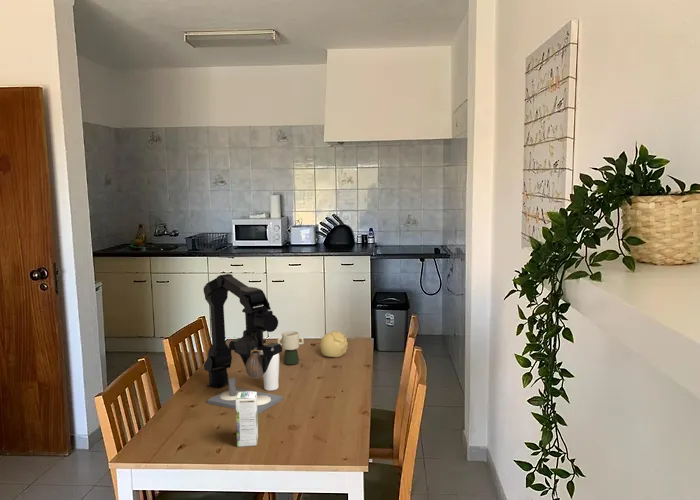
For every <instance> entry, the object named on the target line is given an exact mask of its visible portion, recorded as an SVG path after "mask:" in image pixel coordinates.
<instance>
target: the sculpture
mask: <svg viewBox="0 0 700 500" xmlns="http://www.w3.org/2000/svg"><path fill="white" fill-rule="evenodd" d="M319 344H320V345H319V346H320V348H319V349H320V352H321V353H322V355H323V356H325V357H328V358H340V357H341V358H342V356H344V355H345V354H346V352H347V350H348V345H349V344H348V339H347V337H346V335H345V334H344V333H342V332H341V331H334V330H332V331H330V332H327V333H326V334H324V335H323V336H322V337H321V340H320V343H319Z"/></svg>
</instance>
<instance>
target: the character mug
mask: <svg viewBox="0 0 700 500" xmlns="http://www.w3.org/2000/svg"><path fill="white" fill-rule="evenodd" d="M276 339H277V343H278V344H280V345H281V346H282V350H284V356H283V362H284V364H286V365H294V364H298V363H299V362H300V357H299V354H298V349H299V347H300V346H302V345H304V343H305V340H304V339H305V338H304V336H300V333H299V332H298V331H296V330H295V331H294V330H289V331H284V332H282V333H281V337H278V338H276ZM300 340H301V342H300Z"/></svg>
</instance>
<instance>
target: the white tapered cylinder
mask: <svg viewBox="0 0 700 500" xmlns="http://www.w3.org/2000/svg"><path fill="white" fill-rule="evenodd" d="M262 354H263V351H262V350H260V355H262ZM279 375H280V353H278V354H276V355H274V356H273V357H272V359H271V361H270V364H269V366H268V368H267V371H266V372H265V374H264V375H263V376H262V379H263V388H264V390H266V391H268V392H269V391H273V392H274V391H277V390H278V389H279V381H280V380H279Z"/></svg>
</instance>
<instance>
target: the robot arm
mask: <svg viewBox="0 0 700 500" xmlns="http://www.w3.org/2000/svg"><path fill="white" fill-rule="evenodd" d="M229 292H230V293H232V294H233V295H234V296H236V297H238V299H239V303H240V304H241V306H243V307H244V308H243V309H242V310H241V311H242V313H245V314H244V316H245V317H244V318H245V330H243V332H242V336H241V337H237V338H235V339H233V340H230V341H229V344H228V345H227V343H226V342H227V341H226V329H225V328H226V327H225V307H224V305H225V303H226V301H227V300H228V293H229ZM203 294H204V299H205V300H206V303H208V305H209V310H210V311H209V312H210V313H209V314H210V327H211V328H210V329H211V345H210V347H209V349H208V351H207V352H208V353H207V359H206V360H205V362H204V363H203V367H204V371H206V372H208V382H209V383H207V384H206V386H207V387H210V388H217V389H221V388H223V387H225V386H228V385H229V374H228V369H230V368H231V365H232V359H233V355H232V351H234V353H236V354H237V355H239V356H240V358H241V360H242V362H243V365H244V368H246V362H247V359H248V358H249V357H250V355H251V353H252V351H261V350H262V351H263V354H262V355H261V354H260V357H261V358H262V364H263V373H265V372H266V371H267V368H268V366H269V364H270V361H271V359H272V357H273V356H274V355H276V354H278V353H279V354H280V353H282V352H283V347H282V346H281V345H280V344H278V342H276V343H275V342H270V343H268V344H266V342H267V341H266V339H264V332H268V333H272V332H274V331H276V330H277V328H278V326H279V319H278V318H277V316H276V315H274V313H273V310H271V306H270V304H271V303H270V302H269V301H268V299H267V297H266V294H265V292H264V291H263V290H262V289H261V288H258V287H251V286H248V285H246V284H245V283H243V282H241V281H240V280H239V279H237V278H236V277H234V276H233V274H231V273H223V274H219V275H217V277H216V278H214V279H212V280H210V281H209V282H207V283H205V285H204V286H203Z"/></svg>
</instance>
